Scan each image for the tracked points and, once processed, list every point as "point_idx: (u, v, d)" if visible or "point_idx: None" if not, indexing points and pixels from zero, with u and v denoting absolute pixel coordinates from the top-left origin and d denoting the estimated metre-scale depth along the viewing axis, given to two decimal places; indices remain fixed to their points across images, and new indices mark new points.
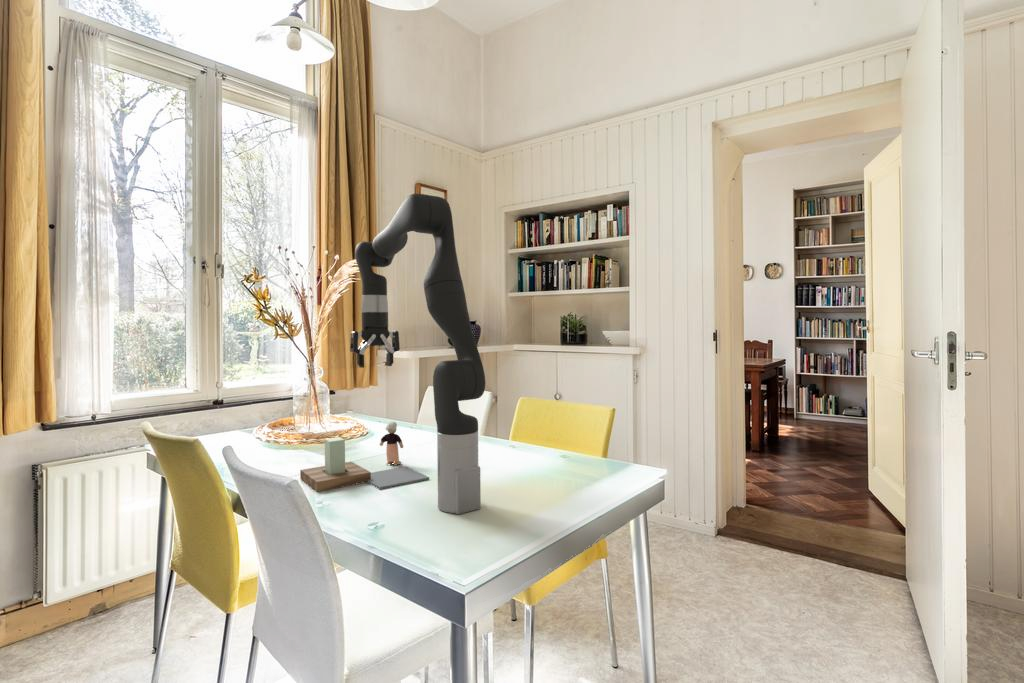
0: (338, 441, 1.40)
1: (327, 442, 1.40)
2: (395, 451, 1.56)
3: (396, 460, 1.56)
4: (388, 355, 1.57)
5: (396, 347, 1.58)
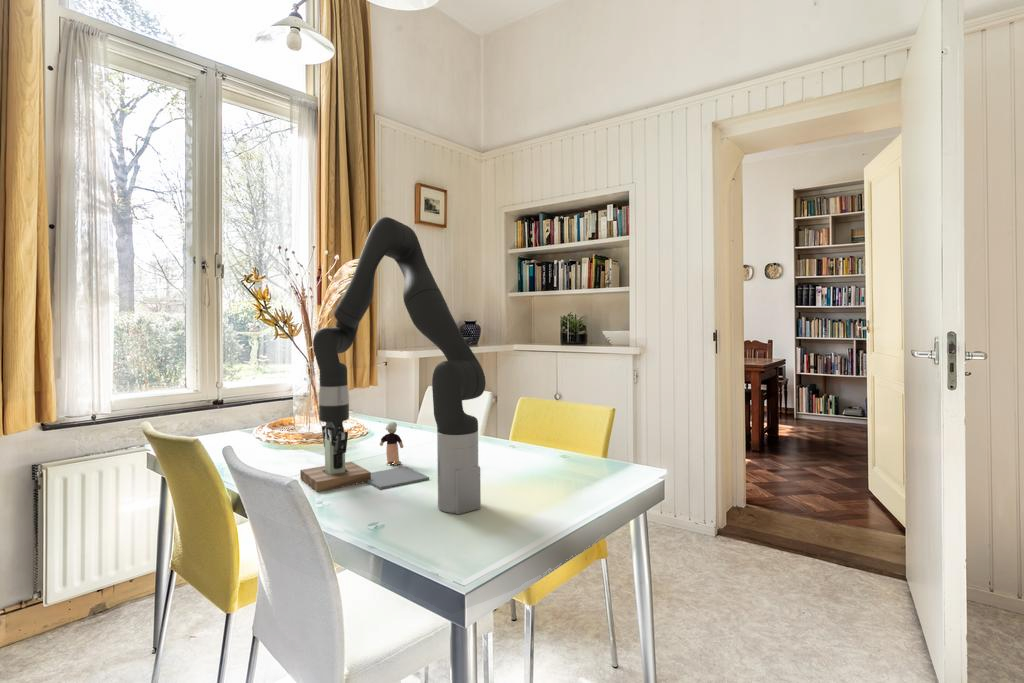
0: None
1: (327, 442, 1.40)
2: (395, 451, 1.56)
3: (396, 460, 1.56)
4: None
5: None
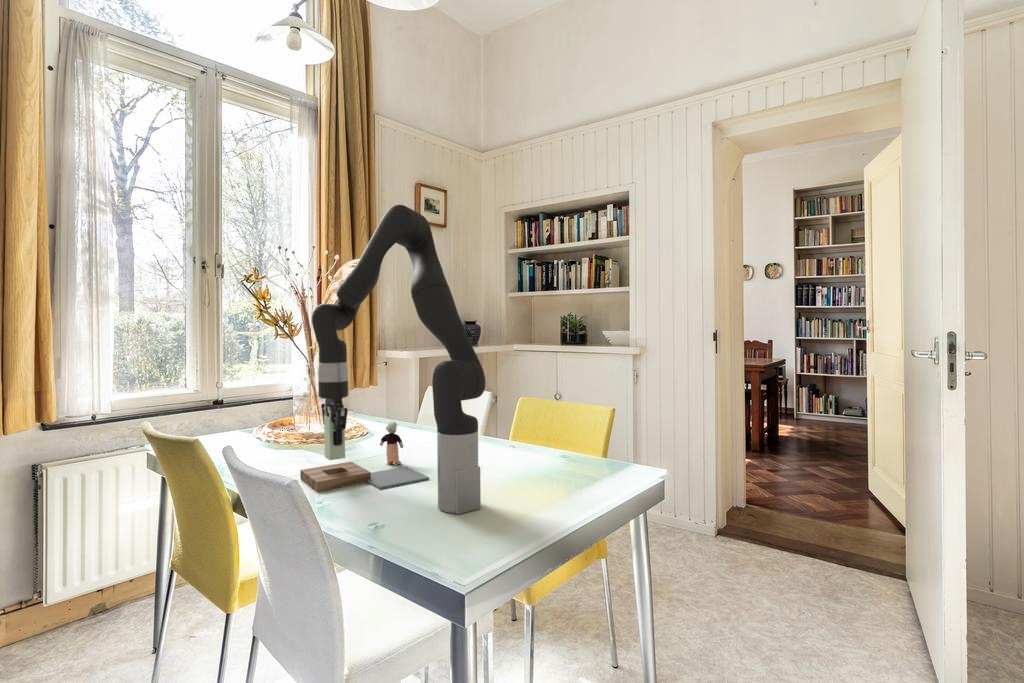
0: None
1: (327, 419, 1.39)
2: (395, 451, 1.56)
3: (396, 460, 1.56)
4: None
5: None
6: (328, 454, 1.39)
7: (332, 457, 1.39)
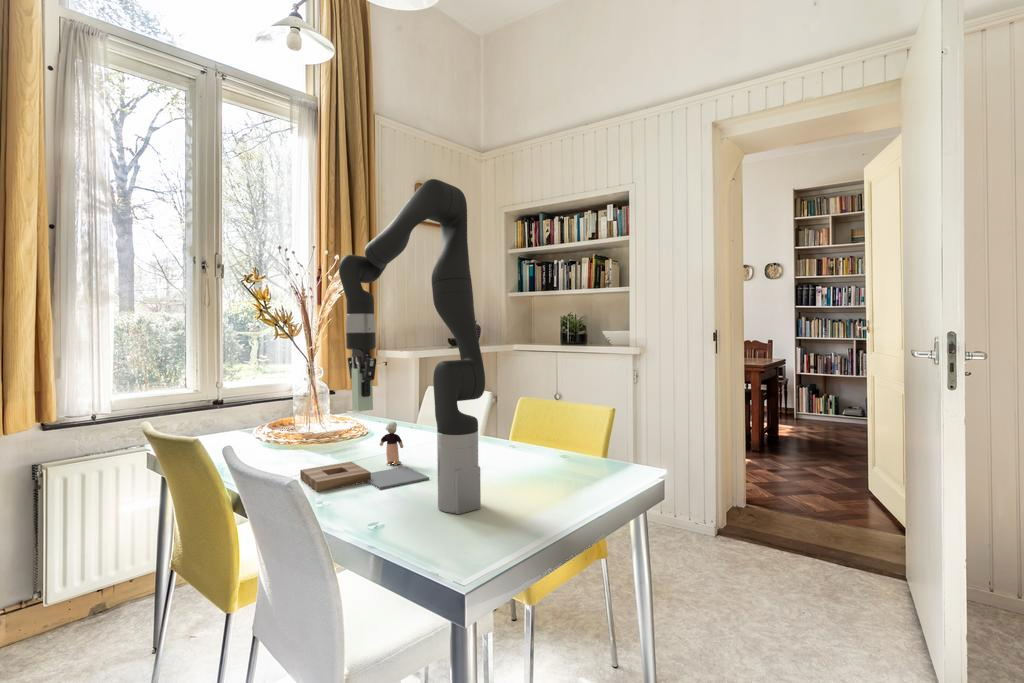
0: None
1: (354, 370, 1.39)
2: (395, 451, 1.56)
3: (396, 460, 1.56)
4: None
5: None
6: (356, 406, 1.39)
7: (360, 408, 1.39)
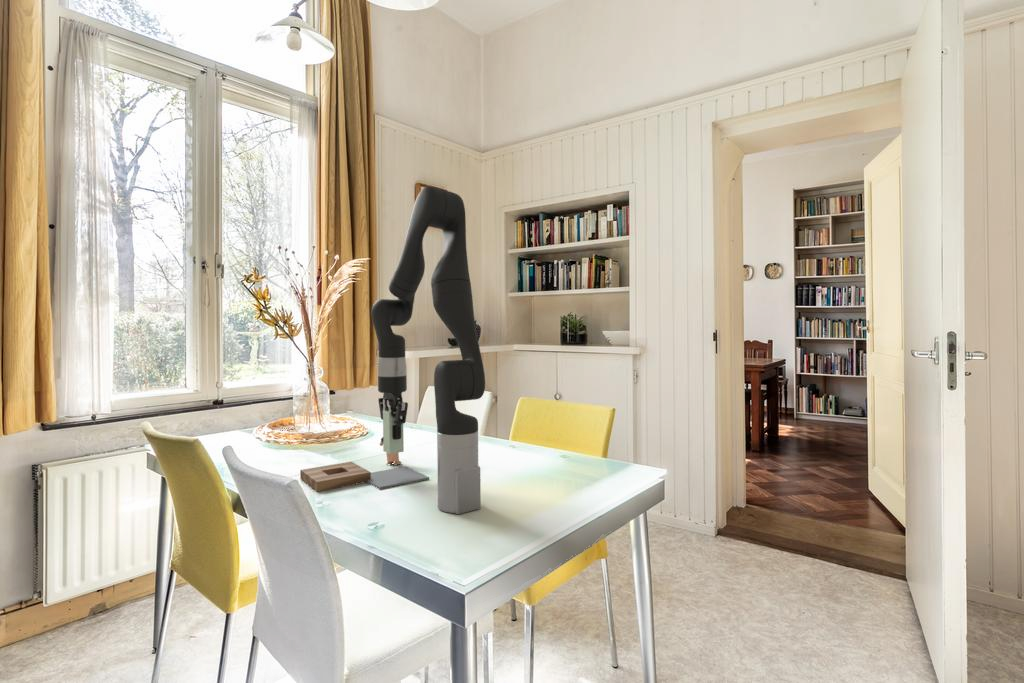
0: None
1: (386, 413, 1.41)
2: None
3: (396, 460, 1.56)
4: None
5: None
6: (387, 448, 1.41)
7: (392, 451, 1.40)
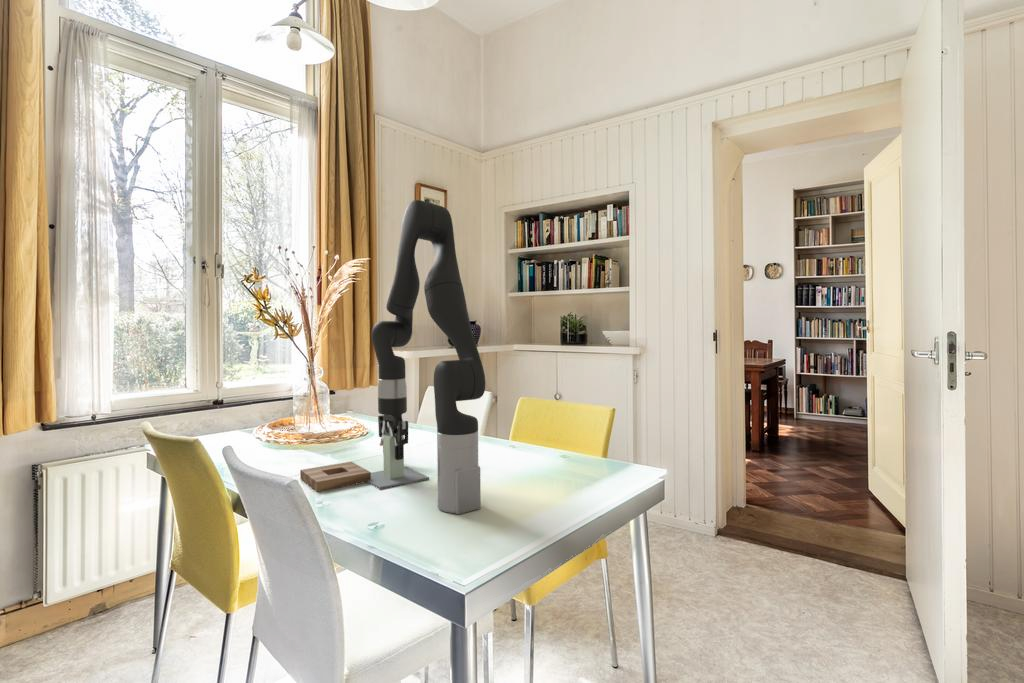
0: None
1: (386, 438, 1.41)
2: None
3: None
4: None
5: None
6: (387, 473, 1.41)
7: (392, 476, 1.41)
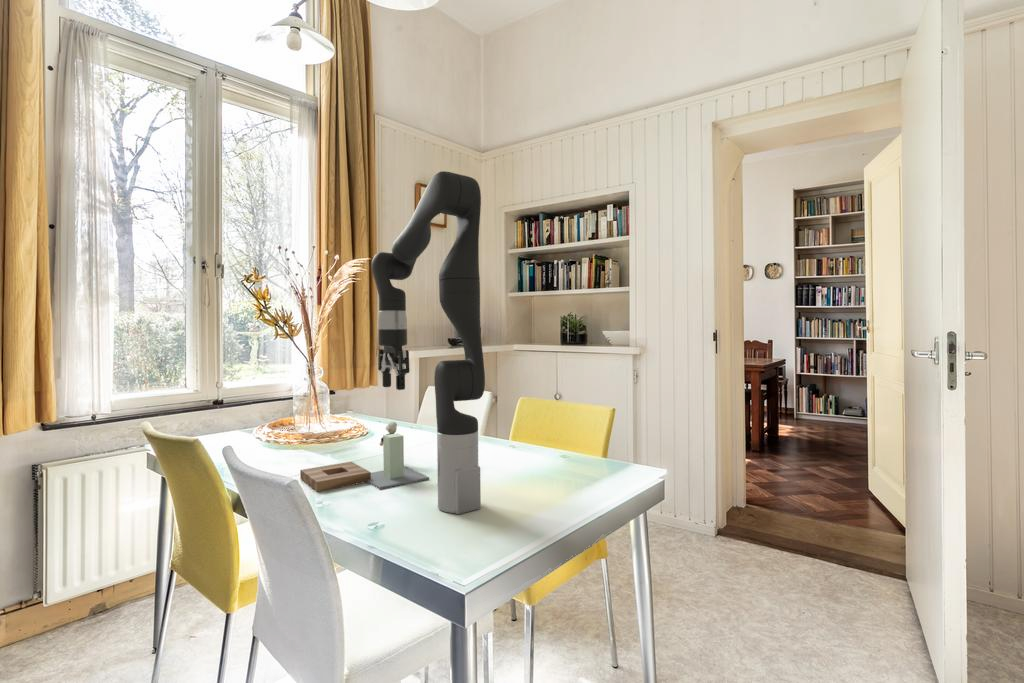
0: (397, 437, 1.41)
1: (386, 438, 1.41)
2: None
3: None
4: (388, 375, 1.46)
5: (387, 366, 1.48)
6: (387, 473, 1.41)
7: (392, 476, 1.41)
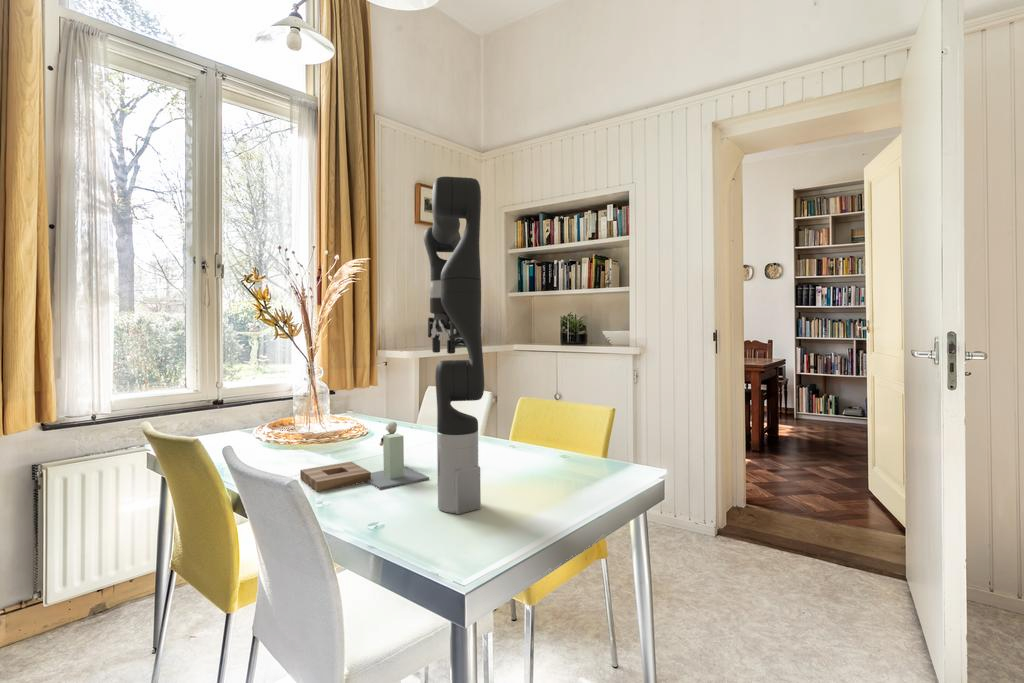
0: (397, 437, 1.41)
1: (386, 438, 1.41)
2: None
3: None
4: (437, 341, 1.57)
5: (436, 333, 1.59)
6: (387, 473, 1.41)
7: (392, 476, 1.41)
